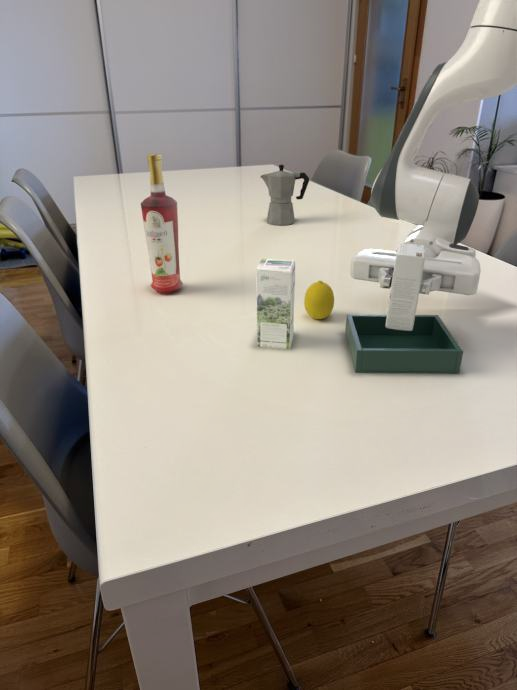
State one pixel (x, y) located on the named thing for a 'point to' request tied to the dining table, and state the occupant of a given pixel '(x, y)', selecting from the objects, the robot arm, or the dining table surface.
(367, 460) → the dining table surface
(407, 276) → the cosmetic box
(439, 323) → the bin
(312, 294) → the lemon
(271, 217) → the coffeepot
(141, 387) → the dining table surface
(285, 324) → the syrup box
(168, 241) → the liquor
